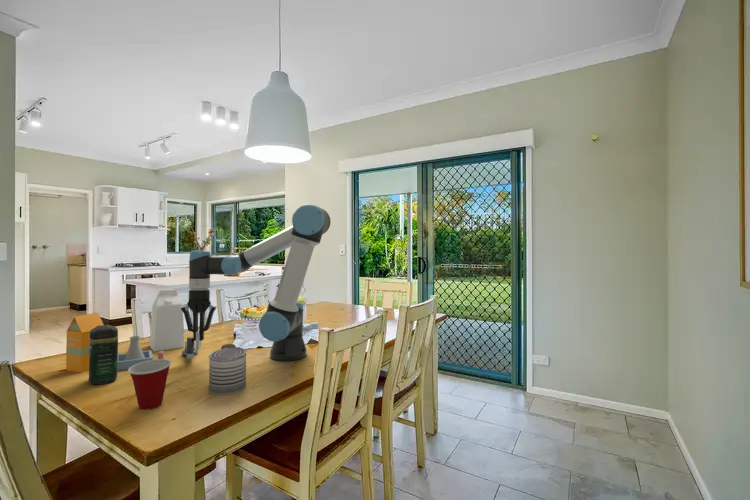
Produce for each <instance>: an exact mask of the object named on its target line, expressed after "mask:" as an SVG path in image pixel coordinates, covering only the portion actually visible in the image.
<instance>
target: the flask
mask: <svg viewBox="0 0 750 500" xmlns="http://www.w3.org/2000/svg"><path fill="white" fill-rule="evenodd" d="M140 338H141V337H140V335H133V336H130V337H129V340H130V342H129V343H130V344H129V347H128V350H127V352H126V353H127V355H126V357H125V359H124V361H126V360H134V359H141V358H145V356H144V354H143V352H142V351H143V350H142V348H141V345H140Z"/></svg>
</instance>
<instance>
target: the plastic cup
mask: <svg viewBox="0 0 750 500" xmlns="http://www.w3.org/2000/svg"><path fill="white" fill-rule="evenodd" d="M171 365H172V360H170V359H167V358H164V359H158V358H156V359H154V358H153V360H148V361H144V362H140V363H138V364H135V365H133V366H131V367H130V368H129V369H127V372H128V373H129V374H130V376H131V378H132V382H133V388H134V392H135V397H136V401H137V406H138V408H139V409H141V410H151V409H156V408H158V407H160V406H161V405H162V403H163V399H164V394H165V391H166V385H167V380H168V374H169V370H170V366H171Z"/></svg>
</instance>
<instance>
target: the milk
mask: <svg viewBox="0 0 750 500" xmlns="http://www.w3.org/2000/svg"><path fill="white" fill-rule="evenodd" d="M182 307H184V306H183V303H182V301H181V299H180V296H179V294H178V293H177V291H176V289H175V288H172V289H171V288H170V289H160V290H159V291H158V294H157V295H156V298H155V299H154V301H153V303H152V309H151V322H150V323H151V324H150V336H149V347H150V349H152V350H151V351H152V352H160V351H166V350H174V349H179V348H185V334H184V333H185V330H184V329H185V328H184V313H183V311H182V310H181V308H182Z"/></svg>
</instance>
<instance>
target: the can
mask: <svg viewBox="0 0 750 500" xmlns="http://www.w3.org/2000/svg"><path fill="white" fill-rule="evenodd" d="M247 351H248V349H245V348H243V347H241V346H236V347H231V348H223V349H221V348H220V349H217V350H214V351H212V352H211V353H210V355H208V358H209V359H208V360H209V361H208V363H209V364H208V365H209V366H208V367H209V368H208V369H209V370H208V373H209V374H208V391H209V392H210V394H211V395H219V396H226V395H234V394H237V393H240V392H242V391H244V389H245V388H246V387H247Z"/></svg>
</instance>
